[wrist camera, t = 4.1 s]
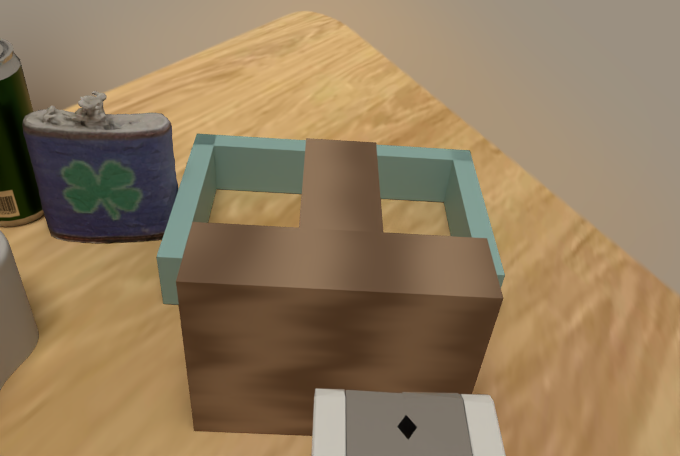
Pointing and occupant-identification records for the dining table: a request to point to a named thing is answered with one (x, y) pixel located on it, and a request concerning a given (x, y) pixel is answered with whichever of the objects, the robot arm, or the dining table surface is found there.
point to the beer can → (15, 145)
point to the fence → (287, 177)
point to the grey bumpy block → (13, 316)
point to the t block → (328, 304)
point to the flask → (102, 172)
